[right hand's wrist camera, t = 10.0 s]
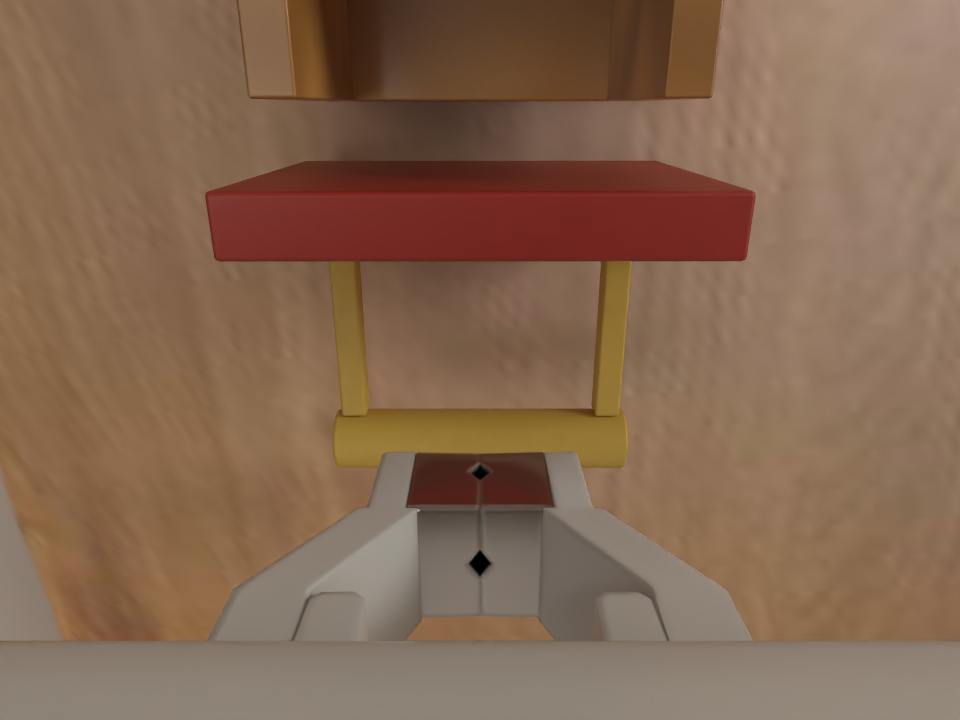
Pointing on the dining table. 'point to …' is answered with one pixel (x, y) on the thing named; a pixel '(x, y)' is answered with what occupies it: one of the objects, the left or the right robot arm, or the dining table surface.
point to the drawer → (480, 183)
